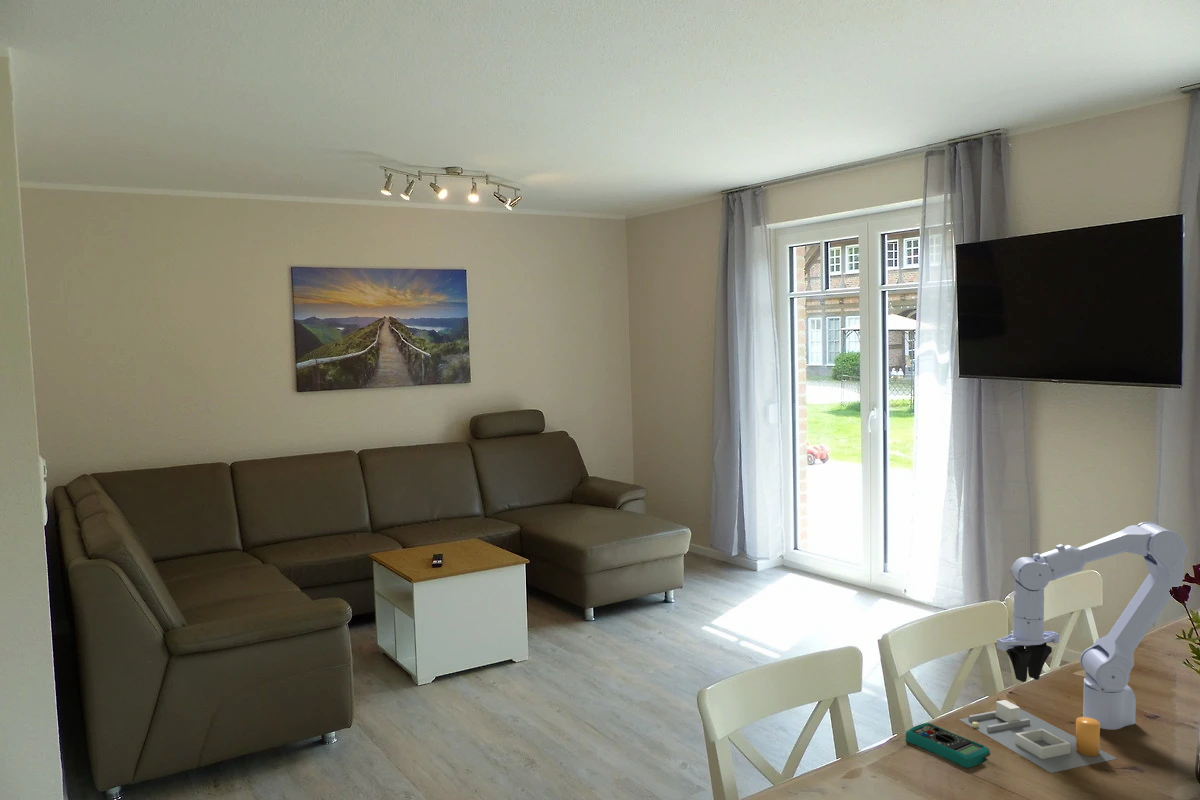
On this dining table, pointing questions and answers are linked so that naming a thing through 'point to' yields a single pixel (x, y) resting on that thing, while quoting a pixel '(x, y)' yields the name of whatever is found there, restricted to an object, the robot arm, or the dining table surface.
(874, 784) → the dining table surface
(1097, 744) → the cap
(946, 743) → the digital multimeter
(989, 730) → the panel
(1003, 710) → the block
